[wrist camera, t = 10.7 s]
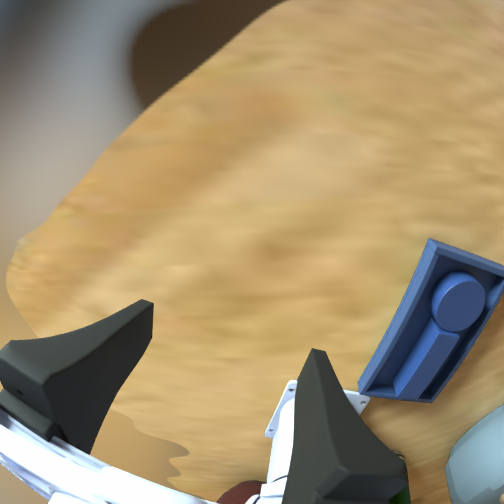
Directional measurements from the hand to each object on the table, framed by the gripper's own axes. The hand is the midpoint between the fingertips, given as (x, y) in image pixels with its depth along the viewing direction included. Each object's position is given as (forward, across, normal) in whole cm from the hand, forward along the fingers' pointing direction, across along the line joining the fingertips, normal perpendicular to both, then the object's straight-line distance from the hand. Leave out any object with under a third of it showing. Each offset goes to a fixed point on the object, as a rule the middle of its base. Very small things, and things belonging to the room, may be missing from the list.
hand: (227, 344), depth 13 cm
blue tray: (+9, -15, +2) cm, 18 cm away
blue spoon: (+9, -15, +2) cm, 18 cm away
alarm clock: (+10, -39, +16) cm, 44 cm away
